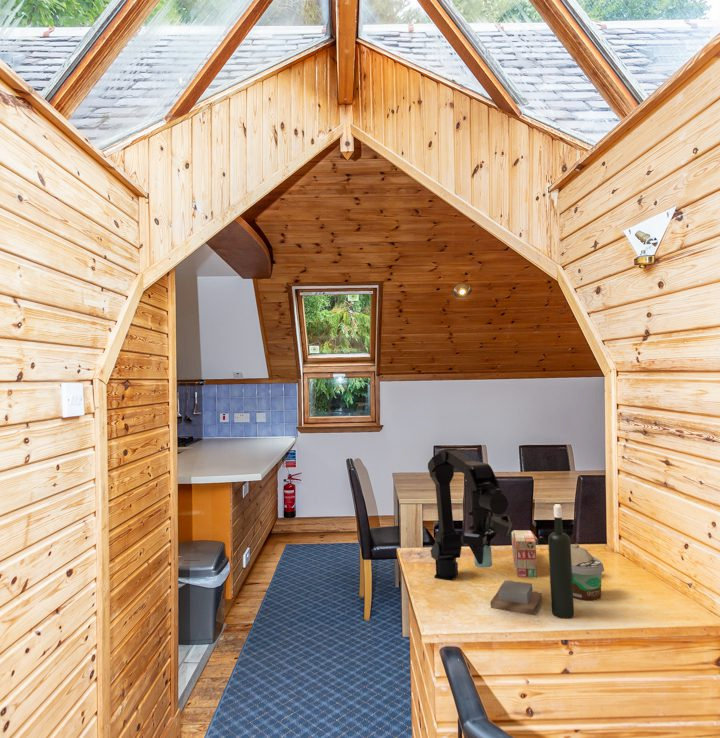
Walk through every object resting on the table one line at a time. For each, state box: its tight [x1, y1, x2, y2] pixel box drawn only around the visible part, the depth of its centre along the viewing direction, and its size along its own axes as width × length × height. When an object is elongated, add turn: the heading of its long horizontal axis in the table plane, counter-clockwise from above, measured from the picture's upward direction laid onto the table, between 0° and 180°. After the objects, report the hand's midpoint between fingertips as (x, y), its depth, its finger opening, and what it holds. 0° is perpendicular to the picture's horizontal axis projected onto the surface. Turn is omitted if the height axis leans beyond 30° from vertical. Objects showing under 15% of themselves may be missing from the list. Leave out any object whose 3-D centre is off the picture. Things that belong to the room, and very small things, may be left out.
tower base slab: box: [490, 589, 543, 616], centre depth 153 cm, size 12×12×2 cm
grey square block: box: [498, 579, 534, 604], centre depth 154 cm, size 8×8×3 cm
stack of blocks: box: [510, 529, 538, 579], centre depth 184 cm, size 21×6×12 cm, turn 168°
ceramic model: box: [571, 543, 595, 566], centre depth 175 cm, size 14×11×10 cm
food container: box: [572, 556, 605, 602], centre depth 156 cm, size 12×6×10 cm, turn 117°
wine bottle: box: [547, 503, 575, 619], centre depth 146 cm, size 6×6×30 cm
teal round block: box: [473, 545, 493, 569], centre depth 154 cm, size 5×5×5 cm
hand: (483, 561), depth 154 cm, fingers closed on teal round block, 5 cm apart
